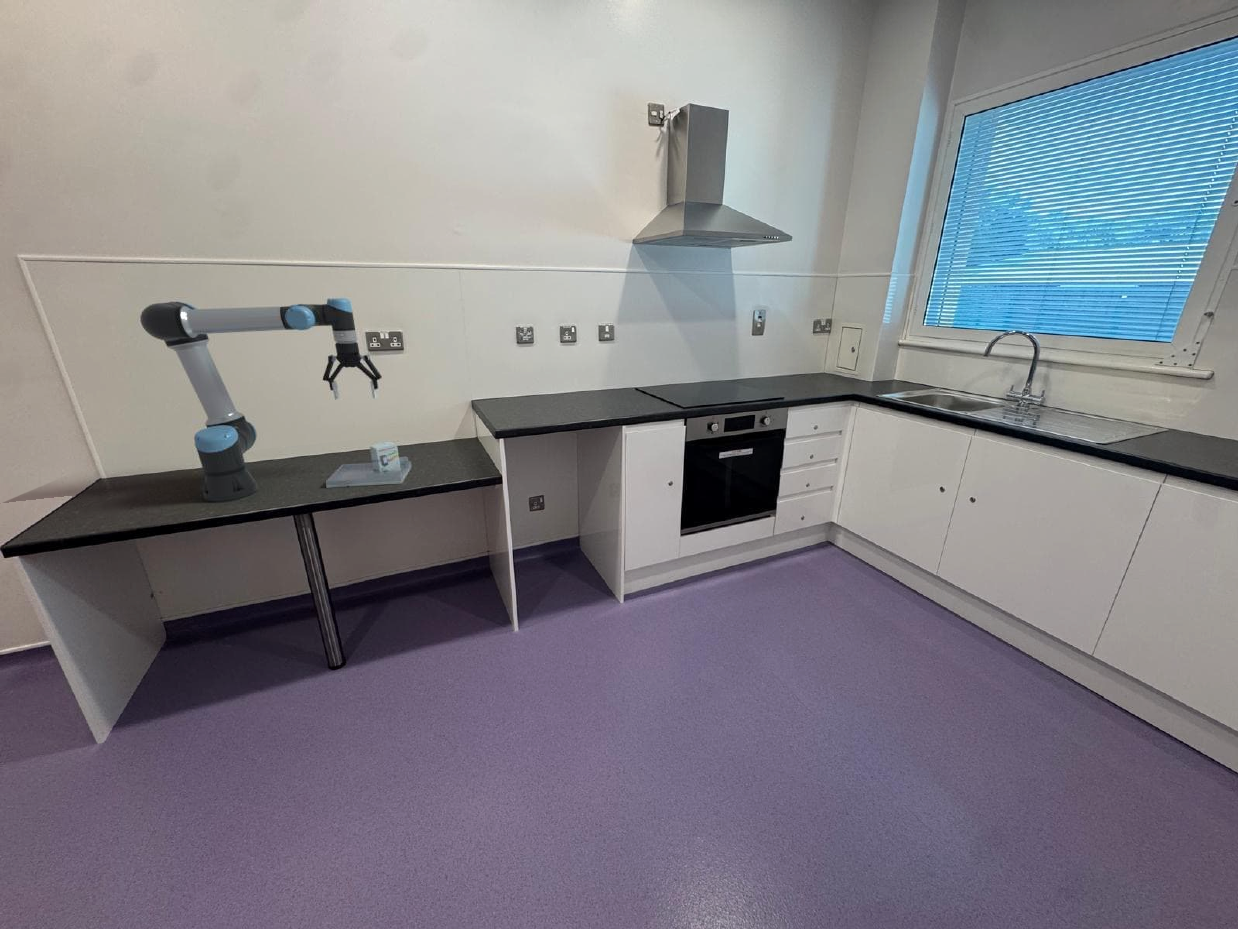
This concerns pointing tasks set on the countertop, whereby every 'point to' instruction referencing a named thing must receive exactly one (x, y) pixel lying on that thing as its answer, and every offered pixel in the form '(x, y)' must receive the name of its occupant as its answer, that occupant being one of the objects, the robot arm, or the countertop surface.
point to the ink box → (385, 456)
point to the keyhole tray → (361, 475)
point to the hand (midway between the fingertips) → (356, 398)
